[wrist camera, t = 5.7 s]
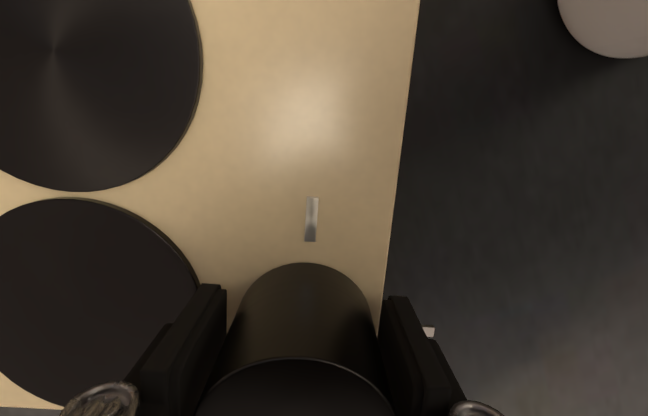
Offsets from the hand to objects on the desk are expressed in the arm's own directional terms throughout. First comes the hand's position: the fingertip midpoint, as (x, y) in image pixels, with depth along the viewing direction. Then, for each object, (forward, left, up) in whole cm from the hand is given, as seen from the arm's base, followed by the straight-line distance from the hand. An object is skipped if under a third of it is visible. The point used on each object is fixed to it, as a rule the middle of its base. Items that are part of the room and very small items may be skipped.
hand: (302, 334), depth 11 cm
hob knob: (0, 0, -1) cm, 1 cm away
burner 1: (+7, -8, -1) cm, 11 cm away
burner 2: (+7, 0, -1) cm, 7 cm away
